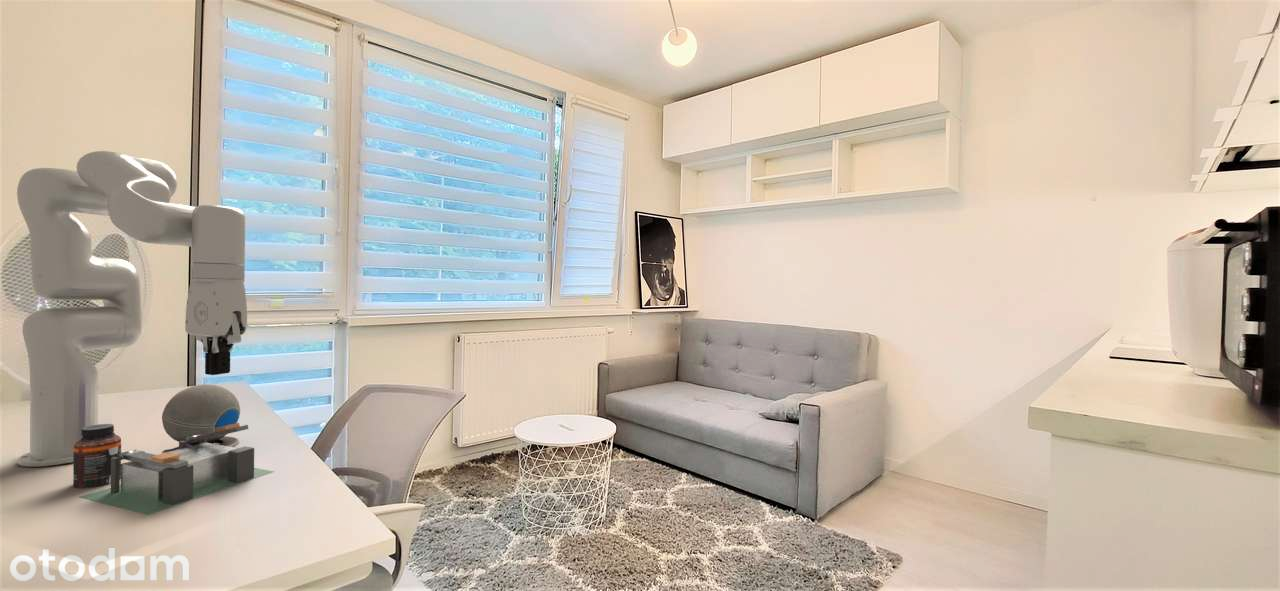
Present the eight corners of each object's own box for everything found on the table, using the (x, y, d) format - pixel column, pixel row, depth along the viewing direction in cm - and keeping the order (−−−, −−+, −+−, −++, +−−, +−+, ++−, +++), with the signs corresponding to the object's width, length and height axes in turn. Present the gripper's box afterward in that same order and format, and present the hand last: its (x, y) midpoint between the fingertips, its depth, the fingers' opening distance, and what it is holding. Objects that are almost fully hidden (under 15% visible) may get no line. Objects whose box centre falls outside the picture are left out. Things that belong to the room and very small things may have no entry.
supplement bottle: (127, 485, 94) (128, 424, 93) (81, 497, 88) (82, 432, 88) (112, 479, 96) (112, 420, 96) (67, 491, 91) (67, 428, 91)
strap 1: (117, 459, 89) (117, 450, 89) (134, 455, 91) (134, 446, 91) (172, 471, 84) (172, 461, 84) (189, 466, 86) (189, 456, 86)
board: (78, 503, 86) (79, 461, 86) (211, 465, 105) (211, 430, 105) (147, 521, 80) (148, 476, 80) (274, 477, 99) (274, 440, 99)
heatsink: (120, 492, 88) (120, 463, 88) (205, 467, 100) (205, 442, 100) (158, 501, 85) (158, 471, 85) (240, 474, 97) (241, 448, 97)
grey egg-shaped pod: (200, 442, 119) (201, 378, 119) (254, 444, 118) (255, 380, 118) (145, 461, 106) (145, 390, 106) (204, 464, 106) (205, 392, 105)
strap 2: (184, 444, 98) (183, 435, 98) (198, 440, 100) (197, 432, 100) (236, 433, 94) (234, 423, 94) (249, 429, 96) (248, 420, 96)
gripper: (168, 272, 92) (167, 373, 93) (223, 274, 87) (222, 380, 88) (214, 274, 99) (213, 367, 100) (268, 275, 94) (266, 373, 95)
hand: (217, 373), depth 94 cm, fingers closed
